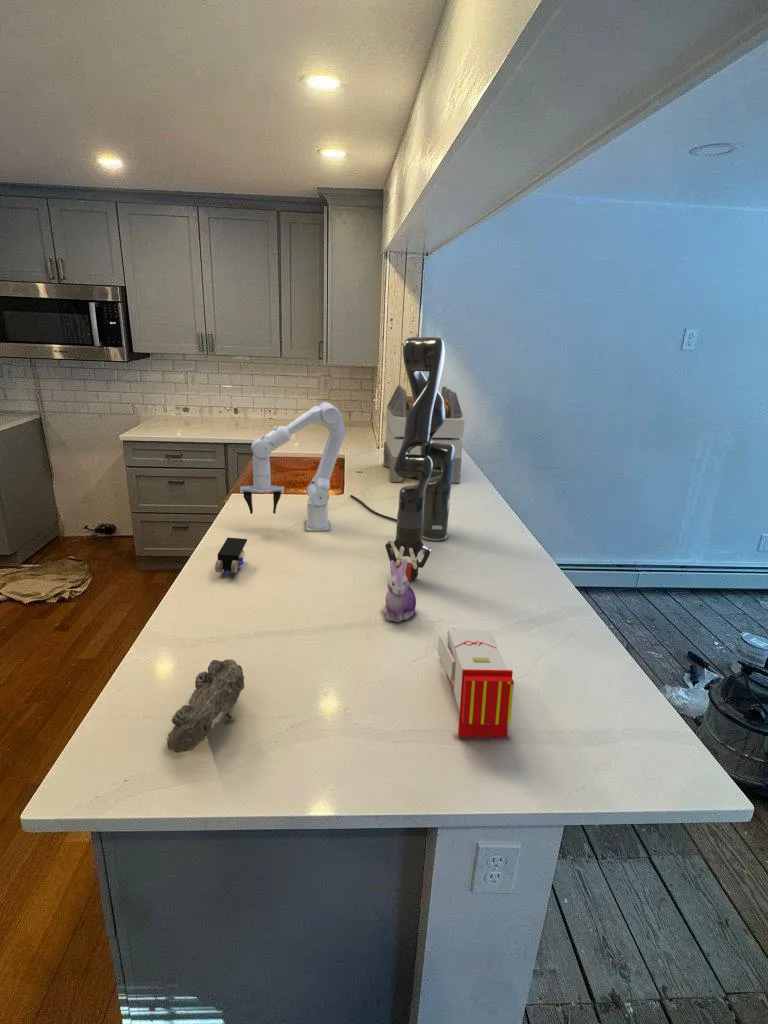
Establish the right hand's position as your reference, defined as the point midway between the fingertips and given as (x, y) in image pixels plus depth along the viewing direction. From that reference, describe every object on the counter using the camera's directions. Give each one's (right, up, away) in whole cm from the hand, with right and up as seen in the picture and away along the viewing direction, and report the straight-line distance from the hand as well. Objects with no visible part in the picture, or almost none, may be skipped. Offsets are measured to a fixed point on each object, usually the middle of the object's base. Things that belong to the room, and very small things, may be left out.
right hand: (406, 577), depth 167 cm
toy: (+11, -18, -48) cm, 53 cm away
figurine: (-3, -7, -19) cm, 21 cm away
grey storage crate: (+11, +38, +108) cm, 115 cm away
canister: (0, 0, 0) cm, 1 cm away
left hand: (-48, +19, +28) cm, 59 cm away
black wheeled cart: (-51, +2, +1) cm, 52 cm away
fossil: (-39, -20, -59) cm, 73 cm away
